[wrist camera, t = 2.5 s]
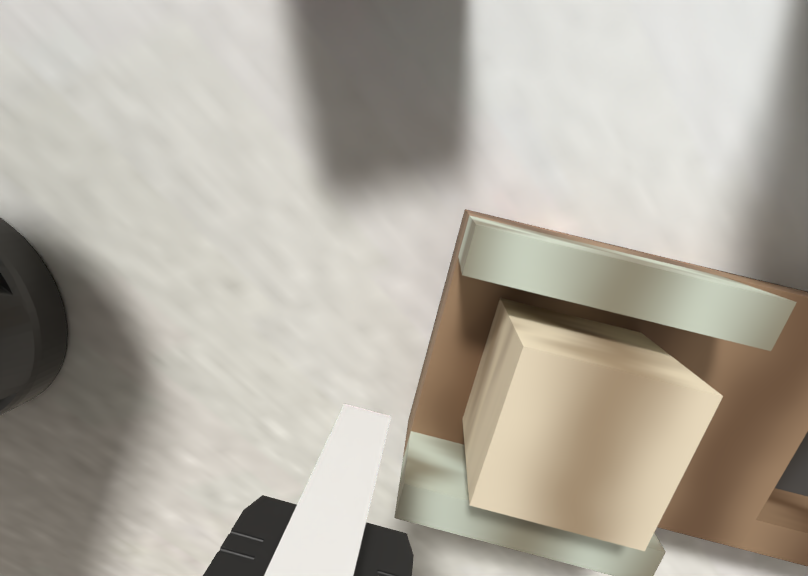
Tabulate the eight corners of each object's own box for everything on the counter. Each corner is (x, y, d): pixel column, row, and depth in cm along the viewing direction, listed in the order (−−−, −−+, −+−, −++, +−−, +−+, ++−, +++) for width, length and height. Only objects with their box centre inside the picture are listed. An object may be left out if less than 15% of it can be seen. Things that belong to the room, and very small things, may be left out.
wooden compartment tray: (408, 420, 27) (394, 518, 19) (465, 209, 23) (476, 224, 15) (851, 534, 26) (1023, 684, 18) (986, 335, 22) (1276, 418, 14)
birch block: (462, 419, 22) (469, 505, 16) (500, 297, 20) (523, 346, 14) (590, 452, 22) (644, 551, 16) (641, 332, 20) (723, 396, 14)
